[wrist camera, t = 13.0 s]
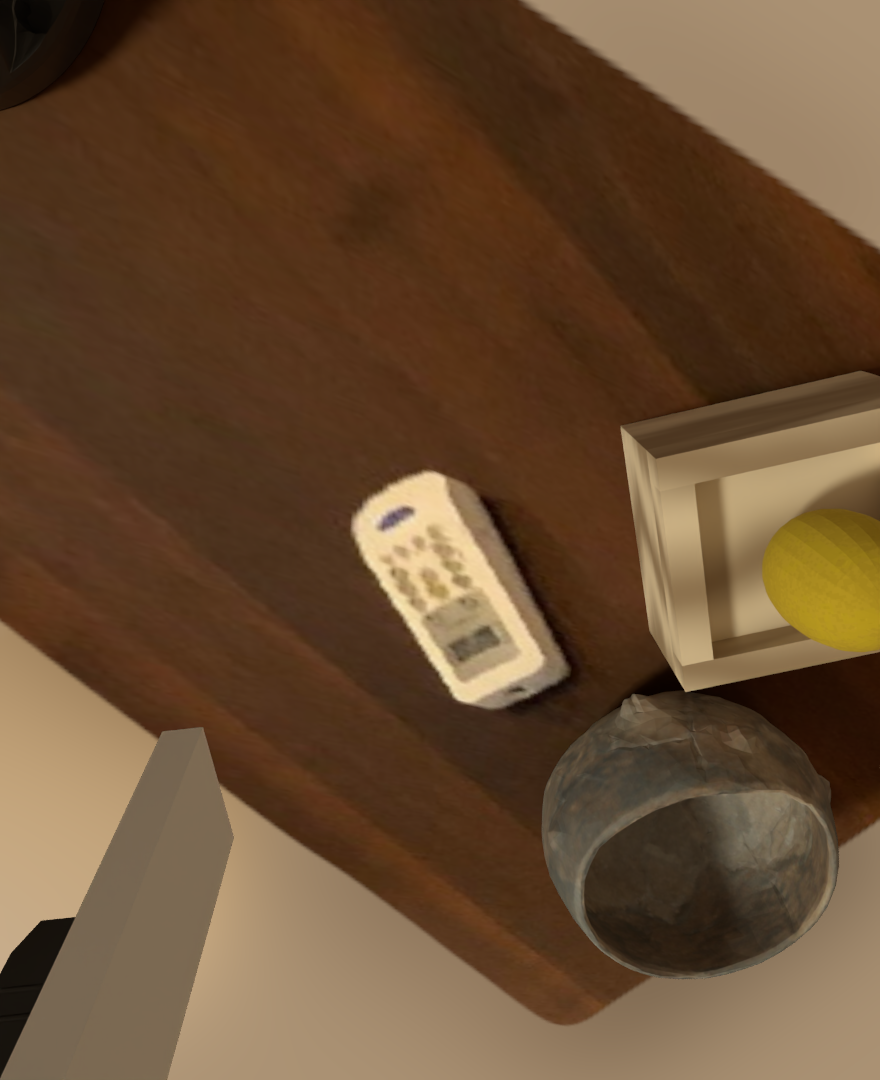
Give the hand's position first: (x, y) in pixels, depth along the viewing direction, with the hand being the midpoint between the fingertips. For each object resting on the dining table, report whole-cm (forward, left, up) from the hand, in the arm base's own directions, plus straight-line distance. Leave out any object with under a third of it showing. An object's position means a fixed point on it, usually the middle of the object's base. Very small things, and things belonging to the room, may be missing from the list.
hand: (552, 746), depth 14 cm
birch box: (+5, +15, -26) cm, 30 cm away
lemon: (+5, +14, -21) cm, 26 cm away
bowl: (+21, +10, -25) cm, 34 cm away
